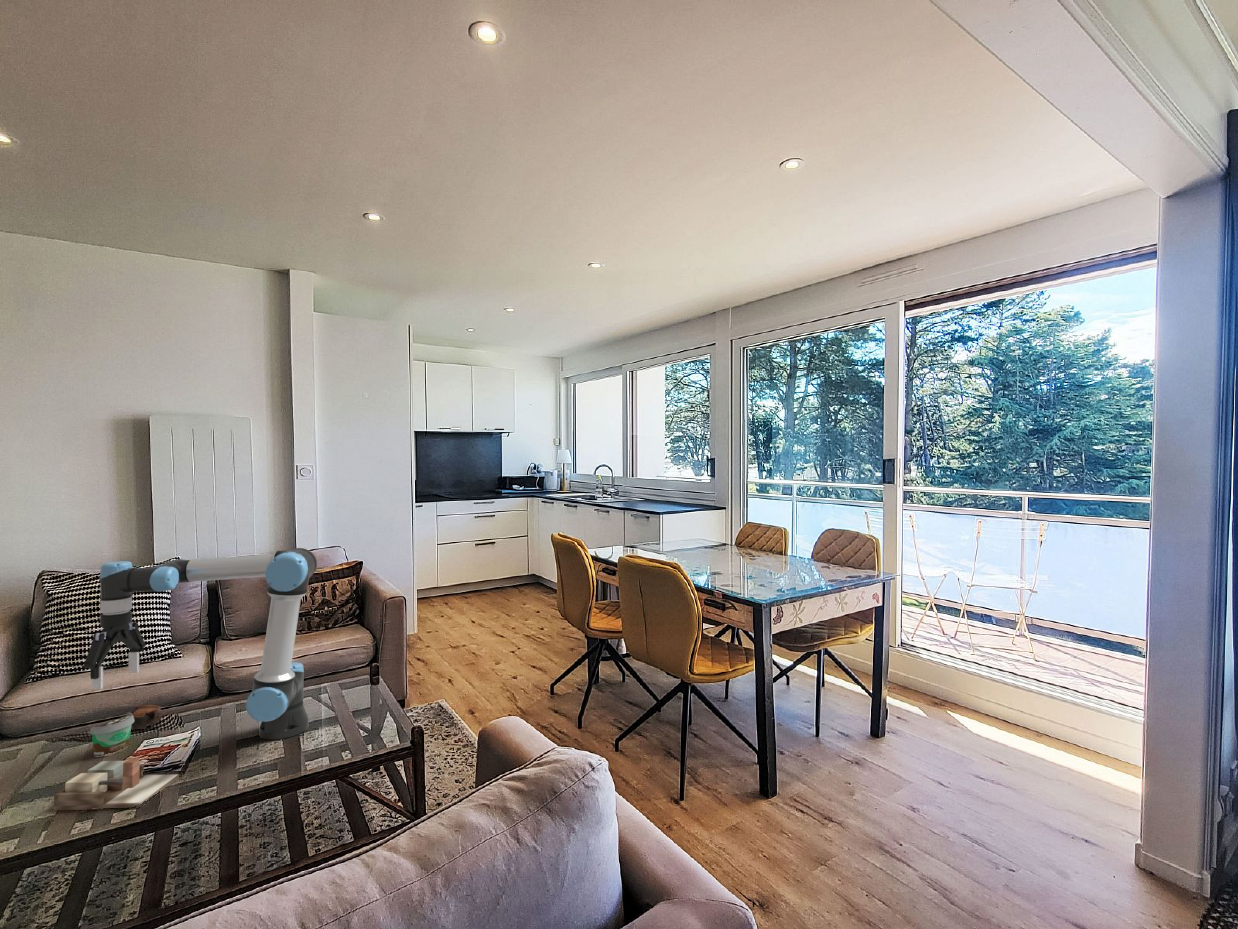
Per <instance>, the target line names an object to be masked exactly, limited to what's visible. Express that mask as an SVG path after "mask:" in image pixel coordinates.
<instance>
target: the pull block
mask: <svg viewBox="0 0 1238 929" xmlns="http://www.w3.org/2000/svg"><path fill="white" fill-rule="evenodd" d="M124 761H125V762H124V763H123V780H107V773H88V772H81V773H79V774H77V775H76V776H74V777H72V778H70V779H69V780H68V781H66V782H65V783H64V786H65V787H64V788H65V793H67V792H106V791H107V785H121V784H123V788H133V787H135V786H136V785H137V784H139V765H140V764H141V763H140V757H137V758H136V757H131V758H128V759H127V760H124Z"/></svg>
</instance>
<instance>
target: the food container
mask: <svg viewBox="0 0 1238 929" xmlns="http://www.w3.org/2000/svg"><path fill="white" fill-rule="evenodd" d="M132 713H133V712H128V711H127V713H126V715H125V716H122V717H119V718H117V719H113V720H110V721H107V722H106V723H104V724H102V725H100V726H91V728H90V730H89V735H91V738H92V739H91V740H92V748H93V756H101V755H105V754H108V753H113V752H116V751H118V750H120V749H123V748H124V747H126V746H128V745H129V746H130V743H131V742H130V740H131V734H132V732H131V725H132V723H134V716H133V715H132Z"/></svg>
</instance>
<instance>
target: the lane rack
mask: <svg viewBox="0 0 1238 929" xmlns="http://www.w3.org/2000/svg"><path fill="white" fill-rule="evenodd" d="M125 761H126V760H104V761H100V762H99V763H97V764H95V765H94V766H93V767H91V768H89V769H88V770H87V773H107V780H123V763H124V762H125ZM143 772H144V773H145V764H139V784H137V785H136V786H135V787H133V788H123V784H121V785H107V791H106V792H67V793H65V787H64V788H63V789H61V790H60V791H58V792H56V793H55V794H53V810H54V811H87V809H91V810H93V809H92V808H101V809H100V810H104V809H103V808H107V807H108V808H127V807H134V806H137V805H140V804H142V803H143V802H144V801H147V800H148V799H149V798H150V797H152V796H153V795H155V794H157V793H158V792H159V791H161V790H163V789H164V788H165V787H167V786H168V785H169V784H171V783H172V784H173V783H175V782H176V781H177V780H179V779H180V773H164V774H163V773H159V774H158V773H157V774H144V775H143ZM172 784H171V785H172ZM169 786H170V785H169ZM169 786H168V787H169ZM168 787H167V788H168ZM165 789H166V788H165ZM165 789H164V790H165ZM164 790H163V791H164ZM161 792H162V791H161ZM157 795H158V794H157Z"/></svg>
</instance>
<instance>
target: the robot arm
mask: <svg viewBox="0 0 1238 929" xmlns="http://www.w3.org/2000/svg"><path fill="white" fill-rule="evenodd" d="M317 568H318V560H317V557H316V555H315V554H314V553H313V551H311V550H309V549H307V548H304V547H303V548H302V547H296V548H291V549H284V550H276V551H274V553H268V554H257V555H256V554H255V555H253V554H252V555H244V556H243V555H242V556H241V555H238V556H226V557H212V558H208V557H207V558H195V559H185V558H178V559H177V558H176V559H172V560H170V561H168V562H164V563H160V564H158V565H154V566H150V567H133V563H132V562H131V561H130V560H129V561H128V560H124V561H123V560H120V561H110V562H106V563H103V564H102V565H101V566H100V574H99V584H100V585H99V586H100V587H99V588H100V589H99V590H100V591H99V592H100V595H99V596H100V598H99V599H100V601H99V602H100V604H99V605H100V606H99V607H100V608H99V610H100V613H101V614H100V616H99V626H100V627H101V628H102V632H96V633H95V632H94V633H93V634H92V642H91V645H90V646H89V650H88V653H87V655H86V658H85V660H84V663H83V666H82V667H83V669H85V668H86V669H90V670H89V671H90V679H91V690H102V689H103V688H104V666H102V664H103V662H104V661H105V659H106V657H107V655H108V654H109V651H110V650H111V648H112V647H113V646H114V645H115V644H117V643H119V642H122V643H123V644H124V645H125V647H127V648H128V649H129V650H130V651H129V652H128V673H129V674H138V673H139V672H140V661H141V660H140V659H141V657H140V656H141V654H140V653H141V652H143V651H144V648H145V647H146V643H145V640H144V638H143V636H142V634H141V632H140V630H139V625H138V622H137V621H133V612H132V609H133V596H132V595H133V593H144V592H145V593H147V592H164V591H172V590H174V589H175V588H176V587H177V585H178V584H183V583H184V584H185V583H193V582H195V583H197V582H207V581H209V582H210V581H222V580H234V579H237V580H238V579H249V578H263V577H264V578H265V580H266V583H267V591H266V593H267V594H268V596H269V597H270V606H269V613H268V619H267V624H266V625H267V626H266V630H265V631H266V632H265V633H266V634H265V638H264V644H263V646H264V647H263V653H262V658H261V659H262V660H261V666H260V667H261V668H260V670H259V671H258V672H256V673H255V674H254V677H253V684H252V688H251V692H250V694H249V695H248V696H247V698H246V699H247V700H246V702H245V710H246V713H247V714H248V715H249V716H250V717H251V718H252V719H253V720H255V721H258V722H260V725H259V727H258V735H259V737H260V738H261V739H264V740H269V741H270V740H274V741H275V740H282V739H288V738H291V737H294V736H298V735H299V734H302V733H303V732H305V731H306V730H307V729H308V728H309V725H310V724H309V723H310V721H309V720H310V719H309V717H308V714H307V710H306V708H305V706H304V683H305V682H304V679H305V678H304V674H305V671H304V664H303V663H301V662H296V661H294V662H293V655H294V648H295V642H296V637H297V634H296V633H297V627H298V623H299V622H298V621H299V614H300V607H301V601H302V599H303V597H304V596H306V595H307V593H308V589H309V588H308V587H309V582H310V578H311V577H313V575H314V574H315V573H316V571H317ZM301 732H302V733H301Z"/></svg>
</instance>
